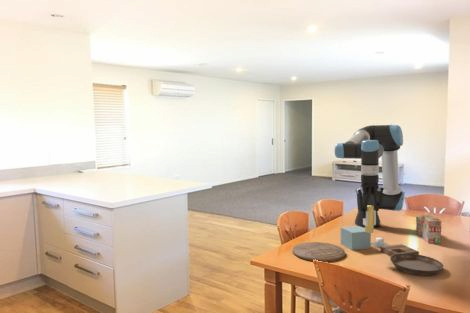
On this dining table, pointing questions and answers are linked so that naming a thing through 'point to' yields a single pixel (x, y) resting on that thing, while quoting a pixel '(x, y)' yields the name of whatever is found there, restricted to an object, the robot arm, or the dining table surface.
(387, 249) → the socket board
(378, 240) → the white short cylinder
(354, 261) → the dining table surface
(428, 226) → the printed food box
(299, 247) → the trivet
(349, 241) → the block
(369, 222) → the peg
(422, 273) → the plant saucer
